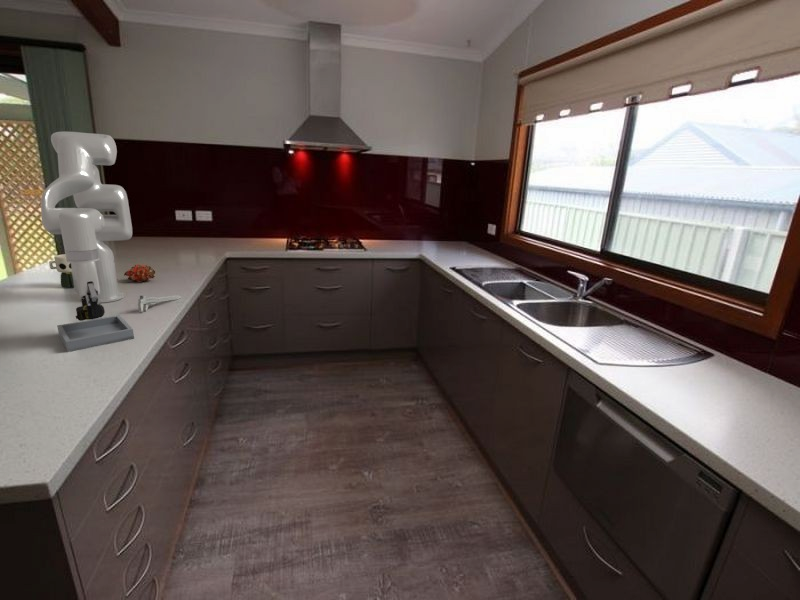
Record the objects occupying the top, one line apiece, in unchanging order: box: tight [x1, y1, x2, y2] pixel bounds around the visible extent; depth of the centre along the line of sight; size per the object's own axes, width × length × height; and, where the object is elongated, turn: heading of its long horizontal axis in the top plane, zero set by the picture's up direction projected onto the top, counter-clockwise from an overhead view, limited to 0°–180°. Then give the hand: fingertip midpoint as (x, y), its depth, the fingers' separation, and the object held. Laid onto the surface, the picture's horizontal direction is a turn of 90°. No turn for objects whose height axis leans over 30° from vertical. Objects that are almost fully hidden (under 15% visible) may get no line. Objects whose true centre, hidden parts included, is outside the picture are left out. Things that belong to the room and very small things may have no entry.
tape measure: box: [75, 303, 106, 322], centre depth 123 cm, size 7×7×4 cm
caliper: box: [137, 294, 183, 314], centre depth 156 cm, size 21×1×6 cm, turn 169°
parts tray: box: [56, 314, 135, 353], centre depth 126 cm, size 16×16×3 cm
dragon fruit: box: [123, 263, 156, 284], centre depth 184 cm, size 8×8×12 cm
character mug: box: [48, 253, 74, 288], centre depth 170 cm, size 11×7×13 cm, turn 129°
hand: (92, 313), depth 124 cm, fingers closed on tape measure, 7 cm apart
